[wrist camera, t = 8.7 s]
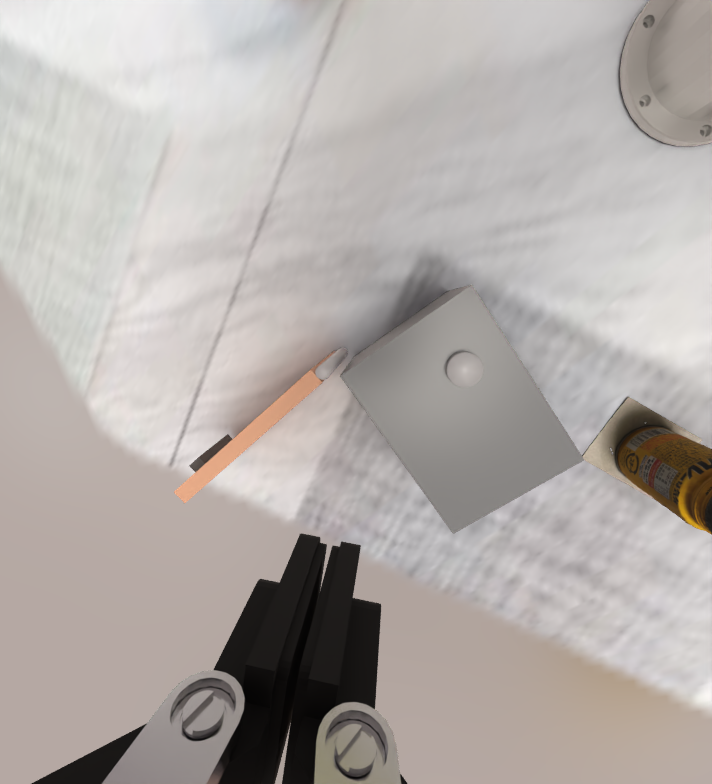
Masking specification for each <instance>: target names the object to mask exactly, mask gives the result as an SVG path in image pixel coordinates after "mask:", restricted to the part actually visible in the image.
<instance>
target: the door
mask: <svg viewBox="0 0 712 784" xmlns="http://www.w3.org/2000/svg"><path fill="white" fill-rule="evenodd" d="M347 354H348V351H347V349H346V348H340V349H338V350H337V351H336V352H335V351H333V352H332V353H331V354H329V355H328V356H327V357H326V358H324V359H323V360H322V361H321V362H319V363H318V364H317V365H316V366H314V367H313V368H312V369H311V370H309V371H308V372H307V373H306V374H305V375H304V376H303V377H302V378H301V379H299V380H298V381H297V382H296V383H295V384H294V385H293V386H292V387H291V388H289V389H288V390H287V391H286V392H285V393H284V394H283V395H282V396H280V397H279V398H278V399H277V400H276V401H275V402H274V403H273V404H272V405H270V406H269V407H268V408H267V409H266V410H265V411H264V412H263V413H262V414H260V415H259V416H258V417H257V418H256V419H255V420H254V421H253V422H251V423H250V424H249V425H248V426H247V427H246V428H245V429H244V430H243V431H241V432H240V433H239V434H238V435H237V436H236V437H235V438H234V439H232V438H231V437H230V436H229V435H228V434H227V435H226V436H225V437H224V438H222V439H221V440H220V441H219V442H217V443H216V444H215V445H214V446H212V447H211V448H210V449H209V450H207V451H206V452H205V453H203V454H202V455H201V456H200V457H198V458H197V459H196V460H195V461H194V462H193V463H192V464H191V465H190V467H191V468H192V469H193V470H194V471H195V472H196V473H195V474H193V475H192V476H191V477H190V478H189V479H188V480H187V481H186V482H185V483H183V484H182V485H181V486H180V487H179V488H178V489H177V490H176V491H175V492H174V493H175V494H176V495H177V496H178V497H179V498H180V499H182V501H183V502H184V503H186V502H187V501H188V500H189V499H190V498H191V497H193V496H194V495H195V494H196V493H197V492H198V491H200V490H201V489H202V488H203V487H204V486H205V485H206V484H207V483H209V482H210V481H211V480H212V479H213V478H214V477H215V476H217V475H218V474H219V473H220V472H221V471H222V470H223V469H225V468H226V467H227V466H228V465H229V464H230V463H231V462H232V461H234V460H235V459H236V458H237V457H238V456H239V455H240V454H242V453H243V452H244V451H245V450H246V449H247V448H248V447H250V446H251V445H252V444H253V443H254V442H255V441H256V440H258V439H259V438H260V437H261V436H262V435H263V434H264V433H265V432H267V431H268V430H269V429H270V428H271V427H272V426H273V425H275V424H276V423H277V422H278V421H279V420H280V419H281V418H283V417H284V416H285V415H286V414H287V413H288V412H289V411H290V410H292V409H293V408H294V407H295V406H296V405H297V404H298V403H300V402H301V401H302V400H303V399H304V398H305V397H306V396H308V395H309V394H310V393H311V392H312V391H313V390H314V389H315V388H317V387H318V386H319V385H320V384H321V383H322V382H323V381H324V380H325V379H327V378H328V377H329V376H330V375H331V373H332V372H333V371H334V370H335V369H336V368H337V366H338V365H339V364H340V363H341V362H342V361H343V359H344V358H345V357H346V356H347Z"/></svg>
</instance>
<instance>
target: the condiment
mask: <svg viewBox="0 0 712 784" xmlns="http://www.w3.org/2000/svg"><path fill="white" fill-rule="evenodd" d="M645 422H647V423H646V424H645ZM701 441H702V439H700V438H699V437H697V436H695V435H693V434H692V433H690V432H688V431H686V430H685V429H683V428H681V427H679V426H678V425H676V424H674V423H673V422H671V421H669V420H667V419H666V418H664V417H662V416H661V415H659V414H657V413H655V412H654V411H652V410H650V409H648V408H647V407H645V406H643V405H642V404H640V403H638V402H636V401H635V400H633V399H631V398H629V397H628V398H627V400H626V401H625V402H624V403H623V404H622V405H621V406H620V408H619V409H618V410H617V411H616V413H615V414H614V415H613V417H612V418H611V419H610V420H609V421H608V423H607V424H606V425H605V427H604V428H603V430H602V431H601V432H600V433H599V434H598V436H597V438H596V439H595V440H594V442H593V443H592V444H591V445H590V446H589V448H588V450H587V451H586V452H585V454H584V455H583V456H582V457H583V459H584V460H585V461H587V462H589V463H591V464H592V465H594V466H596V467H598V468H599V469H601V470H603V471H605V472H606V473H608V474H610V475H612V476H614V477H615V478H617V479H619V480H621V481H622V482H624V483H626V484H628V485H629V486H631V487H633V488H635V489H637V490H638V491H640V492H642V493H644V494H645V495H647V496H649V497H650V498H652V499H655V500H656V501H658V502H659V503H660V504H662V505H663V506H665V507H667V508H668V509H669V510H670V511H672V512H673V513H675V514H676V515H677V516H679V517H680V518H681V519H682V520H684V521H685V522H686V523H688V524H690V525H692V526H693V527H695V528H697V529H700V530H704V531H707V532H708V533H710V534H712V449H710V448H708V447H706V446H704V445H701V444H700V442H701ZM610 448H612V451H610ZM611 452H613V455H612V453H611Z"/></svg>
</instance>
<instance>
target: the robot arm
mask: <svg viewBox="0 0 712 784" xmlns="http://www.w3.org/2000/svg"><path fill="white" fill-rule="evenodd" d="M620 83H621V91H622V95H623V99H624V103H625V105H626V107H627V109H628V111H629V113H630V116H631V117H632V118H633V120H634V121H635V122H636V123H637V125H638V126H639V127H640V128H641V129H642V130H643V131H645V132H646V133H647V134H648V135H649V136H651V137H653V138H655V139H657V140H659V141H661V142H663V143H667V144H671V145H675V146H698V145H704V144H709V143H712V0H650V1H649V2H648V3H647V4H646V6H645V7H644V8H643V10H642V11H641V13H640V14H639V16H638V17H637V19H636V20H635V22H634V24H633V26H632V28H631V30H630V32H629V34H628V37H627V39H626V43H625V46H624V50H623V53H622V59H621V67H620ZM640 105H641V106H640ZM326 547H327V545H326V544H323V543H320V537H316V536H311V535H306V534H300V536H299V538H298V540H297V543H296V545H295V548H294V550H293V552H292V555H291V557H290V560H289V562H288V564H287V567H286V569H285V571H284V574H283V576H282V579H281V581H280V583H278V582H273V581H268V580H264V579H260V580H259V581H258V582H257V584H256V586H255V588H254V590H253V592H252V594H251V596H250V598H249V600H248V602H247V604H246V606H245V608H244V610H243V612H242V614H241V616H240V618H239V620H238V622H237V624H236V626H235V628H234V630H233V632H232V634H231V636H230V638H229V640H228V642H227V644H226V646H225V648H224V650H223V652H222V654H221V656H220V658H219V660H218V662H217V664H216V666H215V668H214V670H213V671H203V672H200V673H197V674H194V675H191V676H190V677H188V678H187V679H185V680H183V681H182V682H180V683H179V684H178V685H177V686H176V687H175V688H174V689H173V690H172V692H171V693H170V694H169V695H168V696H167V698H166V699H165V700H164V702H163V703H162V705H161V706H160V707H159V708H158V710H157V711H156V712H155V714H154V715H153V716H152V718H151V719H150V720H149V722H148V723H147V724H145V725H143V726H141V727H139V728H137V729H135V730H133V731H132V732H130V733H128V734H126V735H124V736H122V737H120V738H118V739H116V740H114V741H112V742H110V743H109V744H107V745H105V746H103V747H101V748H99V749H97V750H95V751H93V752H91V753H89V754H87V755H85V756H84V757H82V758H80V759H78V760H76V761H74V762H72V763H70V764H68V765H66V766H64V767H62V768H61V769H59V770H57V771H55V772H53V773H51V774H49V775H47V776H46V777H43V778H41V779H39V780H38V781H36V782H34V783H32V784H275V780H276V777H277V773H278V769H279V765H280V761H281V757H282V753H283V750H284V746H285V741H286V738H287V734H288V730H289V726H290V732H289V739H288V746H287V753H286V760H285V767H284V774H283V781H282V784H407V782H406V781H405V780H404V778H403V777H402V775H401V774H400V770H399V763H398V754H397V746H396V742H395V739H394V735H393V731H392V729H391V728H390V726H389V724H388V722H387V721H386V719H385V718H384V717H383V716H382V715H381V714H380V713H379V712H378V711H377V710H375V699H376V682H377V666H378V649H379V634H380V616H381V604H379V603H374V602H369V601H364V600H360V599H355V598H353V591H354V585H355V579H356V572H357V566H358V560H359V553H360V547H361V545H356V544H351V543H346V542H341V545H340V547H338V546H332V550H331V553H330V557H329V561H328V564H327V568H326V572H325V576H324V579H323V583H322V587H321V581H322V574H323V567H324V561H325V554H326ZM320 587H321V590H320ZM290 722H291V725H290Z"/></svg>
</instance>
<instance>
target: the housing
mask: <svg viewBox="0 0 712 784" xmlns="http://www.w3.org/2000/svg"><path fill="white" fill-rule="evenodd" d="M340 377H341V378H342V379H343V381H344V382H345V383H346V385H347V386H348V388H349V389H350V390H351V392H352V393H353V395H354V396H355V397H356V399H357V400H358V402H359V403H360V404H361V406H362V407H363V409H364V410H365V411H366V413H367V414H368V416H369V417H370V418H371V420H372V421H373V423H374V424H375V425H376V427H377V428H378V430H379V431H380V432H381V434H382V435H383V437H384V438H385V439H386V441H387V442H388V444H389V445H390V446H391V448H392V449H393V451H394V452H395V453H396V455H397V456H398V458H399V459H400V460H401V462H402V463H403V465H404V466H405V467H406V469H407V470H408V472H409V473H410V474H411V476H412V477H413V478H414V480H415V481H416V483H417V484H418V485H419V487H420V488H421V490H422V491H423V492H424V494H425V495H426V497H427V498H428V499H429V501H430V502H431V504H432V505H433V506H434V508H435V509H436V511H437V512H438V513H439V515H440V516H441V518H442V519H443V520H444V522H445V523H446V525H447V526H448V527H449V529H450V530H451V532H452V533H453V534H454V533H456V532H457V531H459V530H461V529H463V528H464V527H466V526H468V525H470V524H472V523H473V522H475V521H477V520H479V519H480V518H482V517H484V516H486V515H488V514H489V513H491V512H493V511H495V510H496V509H498V508H500V507H502V506H504V505H505V504H507V503H509V502H511V501H512V500H514V499H516V498H518V497H519V496H521V495H523V494H525V493H527V492H528V491H530V490H532V489H534V488H535V487H537V486H539V485H541V484H543V483H544V482H546V481H548V480H550V479H551V478H553V477H555V476H557V475H559V474H560V473H562V472H564V471H566V470H567V469H569V468H571V467H573V466H575V465H576V464H578V463H580V462H582V461H583V460H584V459H583V457H582V455H581V454H580V452H579V451H578V449H577V448H576V446H575V445H574V443H573V441H572V440H571V438H570V437H569V435H568V434H567V432H566V431H565V429H564V427H563V426H562V424H561V423H560V421H559V420H558V418H557V417H556V415H555V413H554V412H553V410H552V409H551V407H550V406H549V404H548V402H547V401H546V399H545V398H544V396H543V395H542V393H541V392H540V390H539V388H538V387H537V385H536V384H535V382H534V381H533V379H532V378H531V376H530V374H529V373H528V371H527V370H526V368H525V367H524V365H523V364H522V362H521V360H520V359H519V357H518V356H517V354H516V353H515V351H514V349H513V348H512V346H511V345H510V343H509V342H508V340H507V339H506V337H505V335H504V334H503V332H502V331H501V329H500V328H499V326H498V325H497V323H496V321H495V320H494V318H493V317H492V315H491V314H490V312H489V311H488V309H487V307H486V306H485V304H484V303H483V301H482V300H481V298H480V296H479V295H478V293H477V292H476V290H475V289H474V287H473V286H472V285H469V286H465V287H461V288H457V289H453V290H450V291H447V292H446V293H445V294H443V295H442V296H440V297H439V298H437V299H436V300H434V301H433V302H432V303H430V304H429V305H427V306H426V307H424V308H423V309H422V310H420V311H419V312H417V313H416V314H414V315H413V316H412V317H410V318H409V319H407V320H406V321H404V322H403V323H402V324H400V325H399V326H397V327H396V328H394V329H393V330H392V331H390V332H389V333H387V334H386V335H384V336H383V337H382V338H380V339H379V340H377V341H376V342H374V343H373V344H372V345H370V346H369V347H367V348H366V349H364V350H363V351H362V352H360V353H359V354H357V355H356V356H354V357H353V359H352V360H351V361H350V363H349V364H348V366H347V367H346V369H345V370H344V371H343V373H342V374H341V376H340Z"/></svg>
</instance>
